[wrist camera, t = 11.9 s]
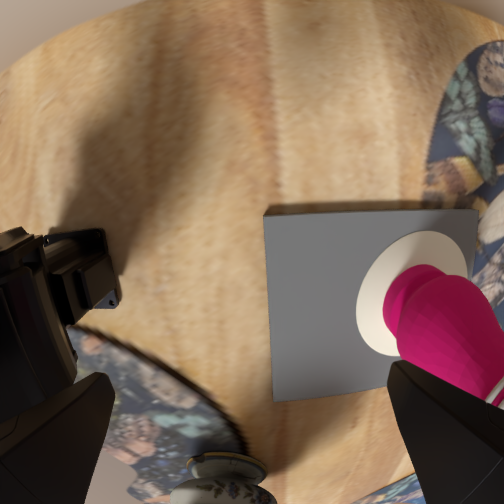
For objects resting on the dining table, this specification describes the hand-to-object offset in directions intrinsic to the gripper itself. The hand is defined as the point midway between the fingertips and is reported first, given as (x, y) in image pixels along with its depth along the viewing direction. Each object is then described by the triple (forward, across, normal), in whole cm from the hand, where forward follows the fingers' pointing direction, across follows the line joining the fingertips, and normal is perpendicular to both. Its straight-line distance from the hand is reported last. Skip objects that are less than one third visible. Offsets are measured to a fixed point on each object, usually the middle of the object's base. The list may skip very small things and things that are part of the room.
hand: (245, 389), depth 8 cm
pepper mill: (+12, -13, +4) cm, 18 cm away
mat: (+13, -10, +5) cm, 17 cm away
